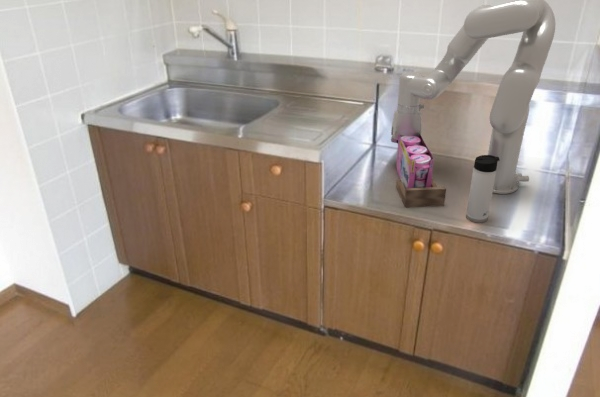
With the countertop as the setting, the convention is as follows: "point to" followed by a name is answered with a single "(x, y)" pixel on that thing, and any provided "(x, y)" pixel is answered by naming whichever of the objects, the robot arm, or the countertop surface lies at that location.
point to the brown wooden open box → (421, 195)
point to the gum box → (414, 162)
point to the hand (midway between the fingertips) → (404, 156)
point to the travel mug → (481, 188)
